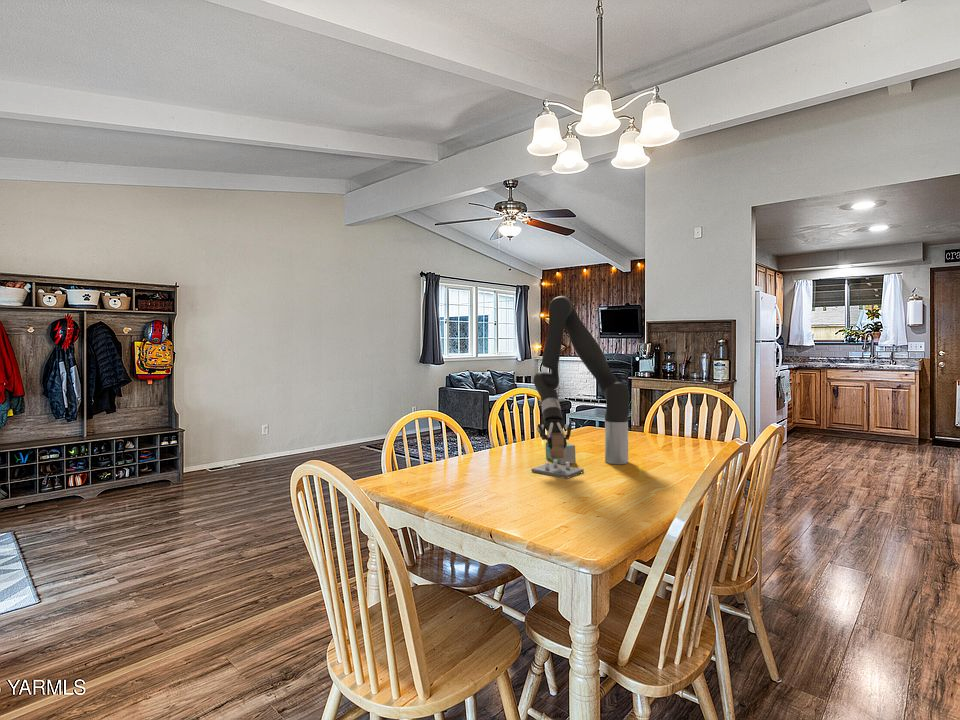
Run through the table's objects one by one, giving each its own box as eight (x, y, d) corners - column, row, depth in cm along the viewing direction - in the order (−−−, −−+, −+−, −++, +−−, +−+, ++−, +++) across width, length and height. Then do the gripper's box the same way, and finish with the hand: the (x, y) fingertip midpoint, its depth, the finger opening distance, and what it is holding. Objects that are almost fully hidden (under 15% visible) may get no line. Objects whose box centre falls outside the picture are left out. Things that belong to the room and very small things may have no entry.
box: (560, 456, 236) (560, 439, 236) (576, 463, 224) (575, 445, 223) (545, 458, 234) (545, 440, 233) (560, 465, 221) (560, 446, 221)
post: (549, 455, 210) (549, 432, 210) (561, 455, 211) (561, 432, 210) (552, 458, 206) (552, 435, 206) (563, 458, 206) (563, 434, 206)
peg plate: (548, 466, 218) (548, 457, 218) (583, 472, 208) (583, 462, 208) (531, 471, 209) (531, 462, 209) (566, 478, 199) (566, 468, 199)
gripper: (535, 406, 214) (540, 442, 203) (570, 406, 215) (578, 441, 204) (533, 417, 220) (538, 453, 208) (567, 417, 221) (574, 452, 209)
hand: (557, 447), depth 206 cm, fingers closed on post, 4 cm apart
